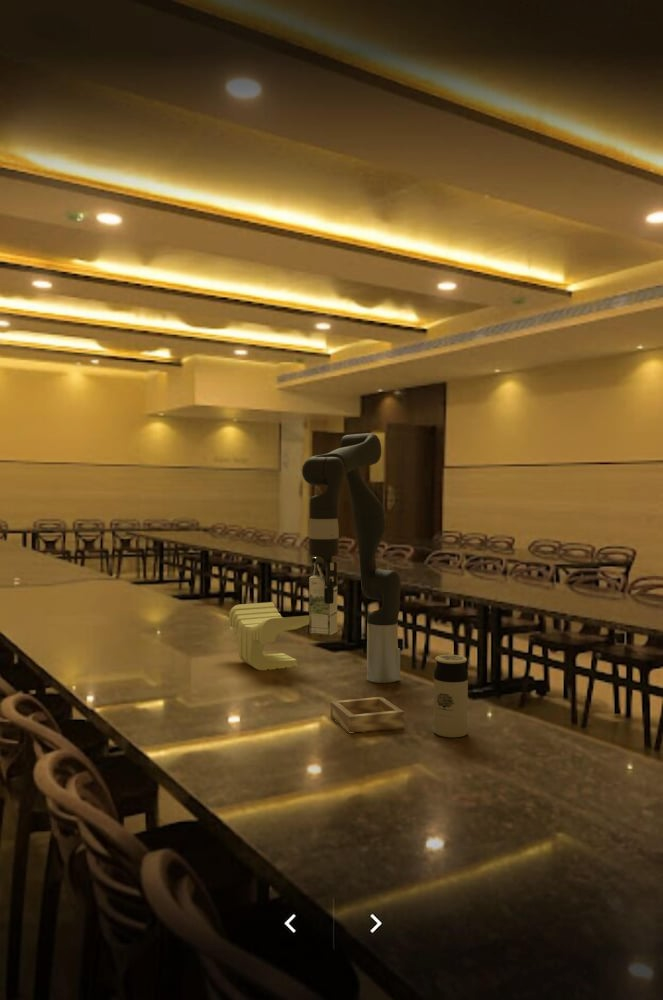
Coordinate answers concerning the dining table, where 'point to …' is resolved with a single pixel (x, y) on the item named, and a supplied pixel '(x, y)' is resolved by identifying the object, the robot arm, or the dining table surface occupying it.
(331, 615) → the syrup box
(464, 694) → the travel mug
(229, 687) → the dining table surface
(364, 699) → the socket block
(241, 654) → the slatted curved stool
